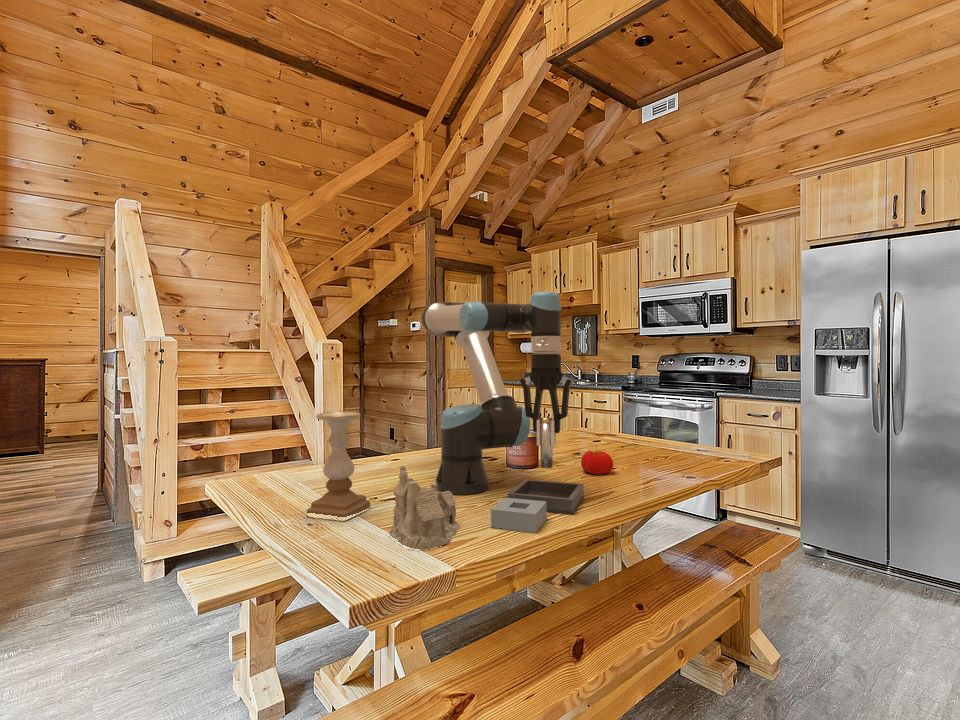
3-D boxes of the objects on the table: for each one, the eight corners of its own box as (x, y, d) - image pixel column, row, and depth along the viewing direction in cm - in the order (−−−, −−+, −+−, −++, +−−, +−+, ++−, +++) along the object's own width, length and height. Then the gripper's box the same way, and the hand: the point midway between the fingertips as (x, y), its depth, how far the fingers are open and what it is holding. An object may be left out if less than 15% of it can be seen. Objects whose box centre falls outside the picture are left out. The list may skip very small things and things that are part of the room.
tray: (507, 508, 125) (507, 493, 125) (525, 491, 140) (525, 479, 140) (572, 514, 119) (572, 499, 119) (583, 497, 134) (583, 483, 134)
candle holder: (371, 508, 125) (370, 412, 125) (345, 522, 115) (344, 417, 115) (333, 504, 129) (332, 410, 129) (305, 517, 119) (304, 415, 118)
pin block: (490, 527, 110) (490, 509, 110) (505, 514, 120) (505, 497, 120) (535, 533, 107) (535, 514, 107) (546, 518, 116) (546, 501, 116)
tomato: (606, 468, 169) (606, 449, 169) (616, 476, 158) (616, 455, 158) (577, 469, 168) (577, 449, 168) (585, 477, 157) (585, 455, 157)
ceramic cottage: (404, 554, 96) (408, 473, 97) (381, 531, 110) (384, 461, 111) (478, 545, 103) (481, 470, 103) (447, 525, 117) (449, 459, 118)
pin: (539, 467, 128) (539, 418, 128) (542, 465, 131) (542, 417, 131) (551, 468, 127) (550, 418, 127) (553, 466, 130) (553, 417, 130)
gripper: (511, 353, 129) (512, 446, 129) (574, 352, 123) (575, 449, 123) (519, 353, 136) (520, 441, 136) (580, 353, 130) (580, 444, 130)
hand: (546, 445), depth 129 cm, fingers closed on pin, 3 cm apart
